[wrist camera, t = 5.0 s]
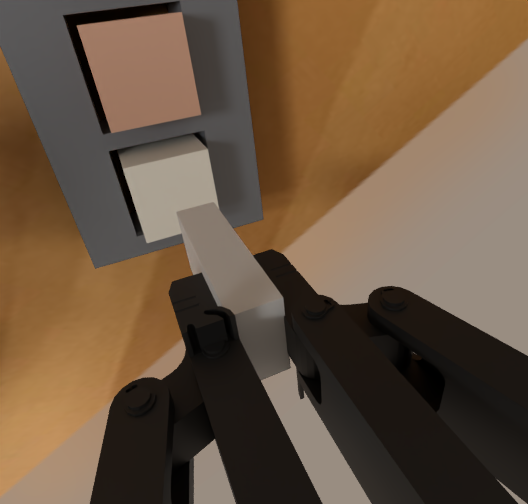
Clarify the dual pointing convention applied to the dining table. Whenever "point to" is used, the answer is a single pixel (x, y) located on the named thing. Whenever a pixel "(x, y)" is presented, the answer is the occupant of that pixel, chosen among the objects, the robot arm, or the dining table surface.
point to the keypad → (103, 141)
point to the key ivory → (167, 182)
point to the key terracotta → (141, 69)
